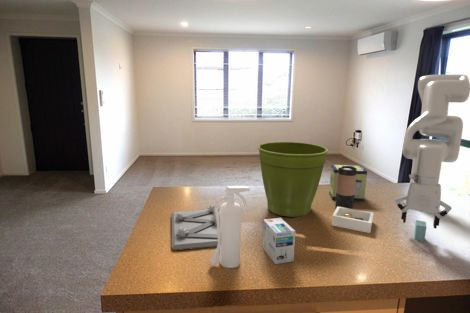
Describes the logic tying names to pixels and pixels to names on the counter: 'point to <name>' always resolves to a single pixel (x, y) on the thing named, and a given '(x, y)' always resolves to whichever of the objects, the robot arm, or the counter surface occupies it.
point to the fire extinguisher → (229, 228)
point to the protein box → (359, 185)
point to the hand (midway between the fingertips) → (419, 224)
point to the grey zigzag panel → (194, 229)
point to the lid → (420, 230)
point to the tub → (353, 219)
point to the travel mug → (345, 187)
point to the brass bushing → (348, 215)
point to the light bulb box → (279, 240)
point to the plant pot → (291, 175)
